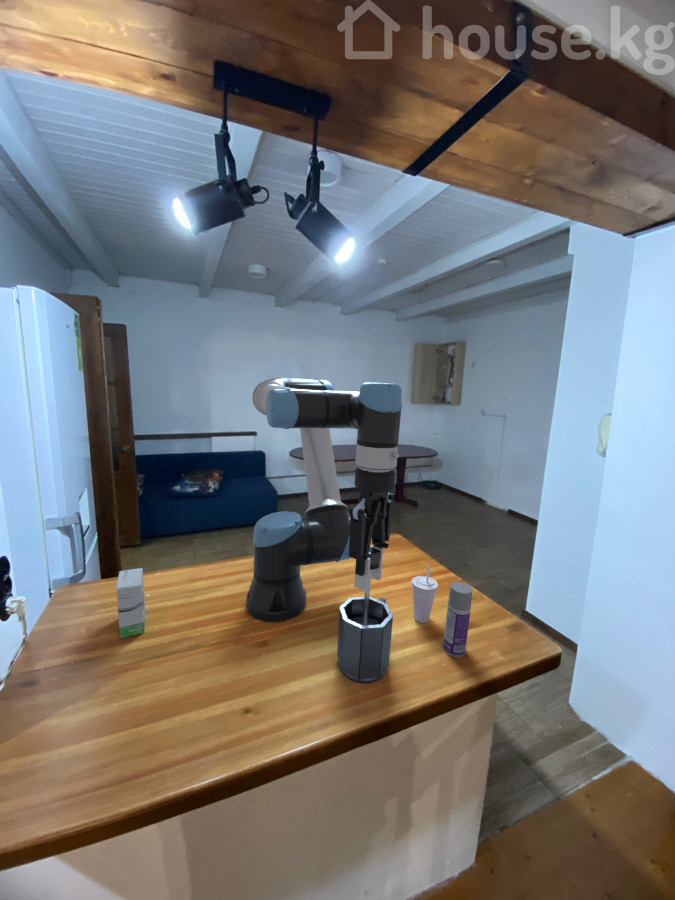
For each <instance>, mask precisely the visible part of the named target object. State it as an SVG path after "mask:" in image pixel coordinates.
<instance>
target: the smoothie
mask: <svg viewBox="0 0 675 900" xmlns="http://www.w3.org/2000/svg"><path fill="white" fill-rule="evenodd" d="M426 569H427V570H426V575H417V576H415V577H412V579H411V583H410V584H411V585H410V586H411V587H412V605H413V607H412V608H413V611H412V612H413V619H414V621H416V622H418V623H423V624H424V623H428V622H430V621H429V620H430V616H431V614H432V609H433V604H434V600H435V597H436V593H437V592H438V590H439V584H438V581H436V580H435V579H434V578H432V577H430V569H431V566H430V565H427V568H426Z"/></svg>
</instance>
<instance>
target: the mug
mask: <svg viewBox="0 0 675 900" xmlns="http://www.w3.org/2000/svg"><path fill="white" fill-rule="evenodd" d="M386 600H387V599H386V598H384V597H382V596H381V597H379V598H378V599H377V598H374V597H372V596H370V597H369V611H368V617H370V618H373V619H375V620H376V621H378V622H379V623H380V624H379V625H367V626H362V625H360V624H358V623H356V622H354V621H351V619H353V618H356V617H363V611H364V596H355V597H354V596H353V597H349V598H348V599H347V600H346V601H345V602H343V603H342V604H341V605H339V612H338V613H339V614H338V632H337V646H336V647H337V648H336V649H337V650H336V651H337V653H336V657H337V659H338V660H337V664H338V669H339V671H340V673H341V674H342V675H343V676H344V677H345V678H346V679H348V680H349V681H352V682H354V683H357V684H362V685H363V684H367V685H368V684H373V683H376V682H378V681H380V680H382V678H384V676H385V674H386V673H387V670H388V667H389V666H390V657H391V644H392V643H391V642H392V632H393V619H394V615H393V613H392V611H391V609H390V607H389V605H388V604H387V603H386V602H387V601H386Z"/></svg>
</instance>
